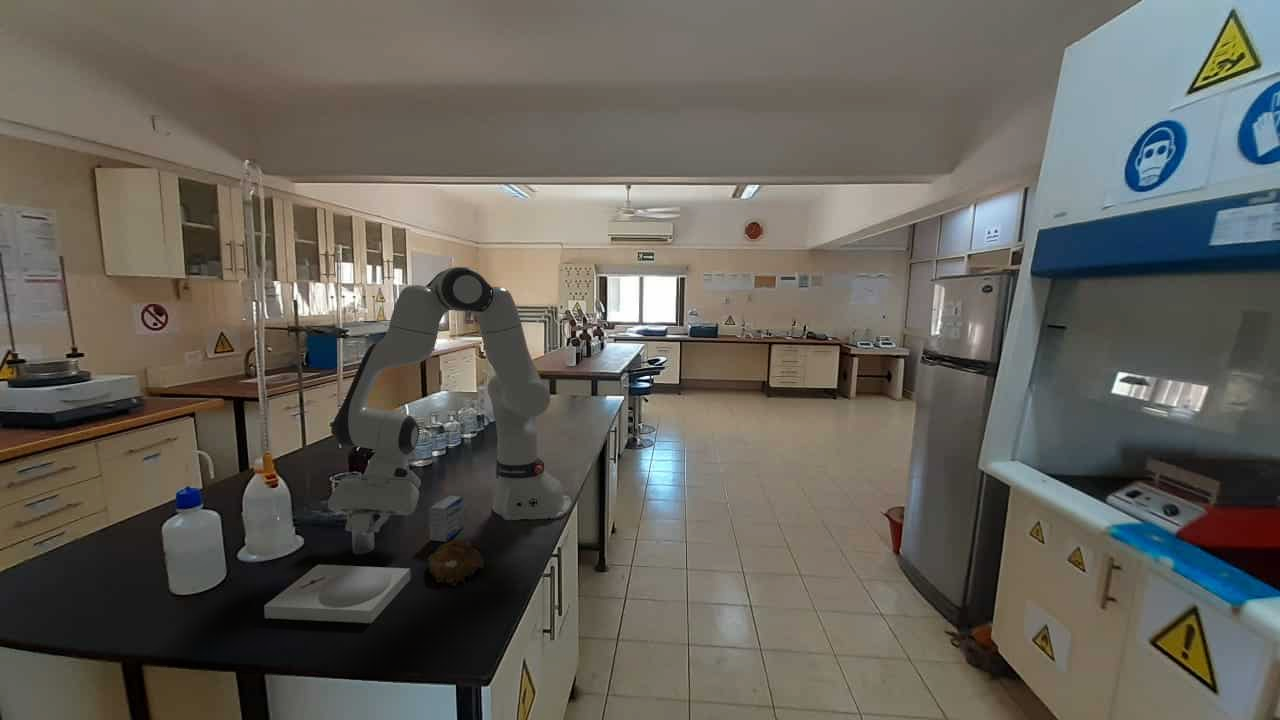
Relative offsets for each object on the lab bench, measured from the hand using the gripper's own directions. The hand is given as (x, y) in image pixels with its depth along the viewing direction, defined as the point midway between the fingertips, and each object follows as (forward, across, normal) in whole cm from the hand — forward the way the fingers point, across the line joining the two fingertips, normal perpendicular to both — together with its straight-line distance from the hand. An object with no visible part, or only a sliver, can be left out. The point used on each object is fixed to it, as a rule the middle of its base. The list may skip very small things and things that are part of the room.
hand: (361, 531), depth 111 cm
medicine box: (-3, +16, +10) cm, 19 cm away
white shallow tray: (+16, +7, -9) cm, 19 cm away
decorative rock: (+7, +24, 0) cm, 25 cm away
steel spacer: (+3, 0, +4) cm, 5 cm away
